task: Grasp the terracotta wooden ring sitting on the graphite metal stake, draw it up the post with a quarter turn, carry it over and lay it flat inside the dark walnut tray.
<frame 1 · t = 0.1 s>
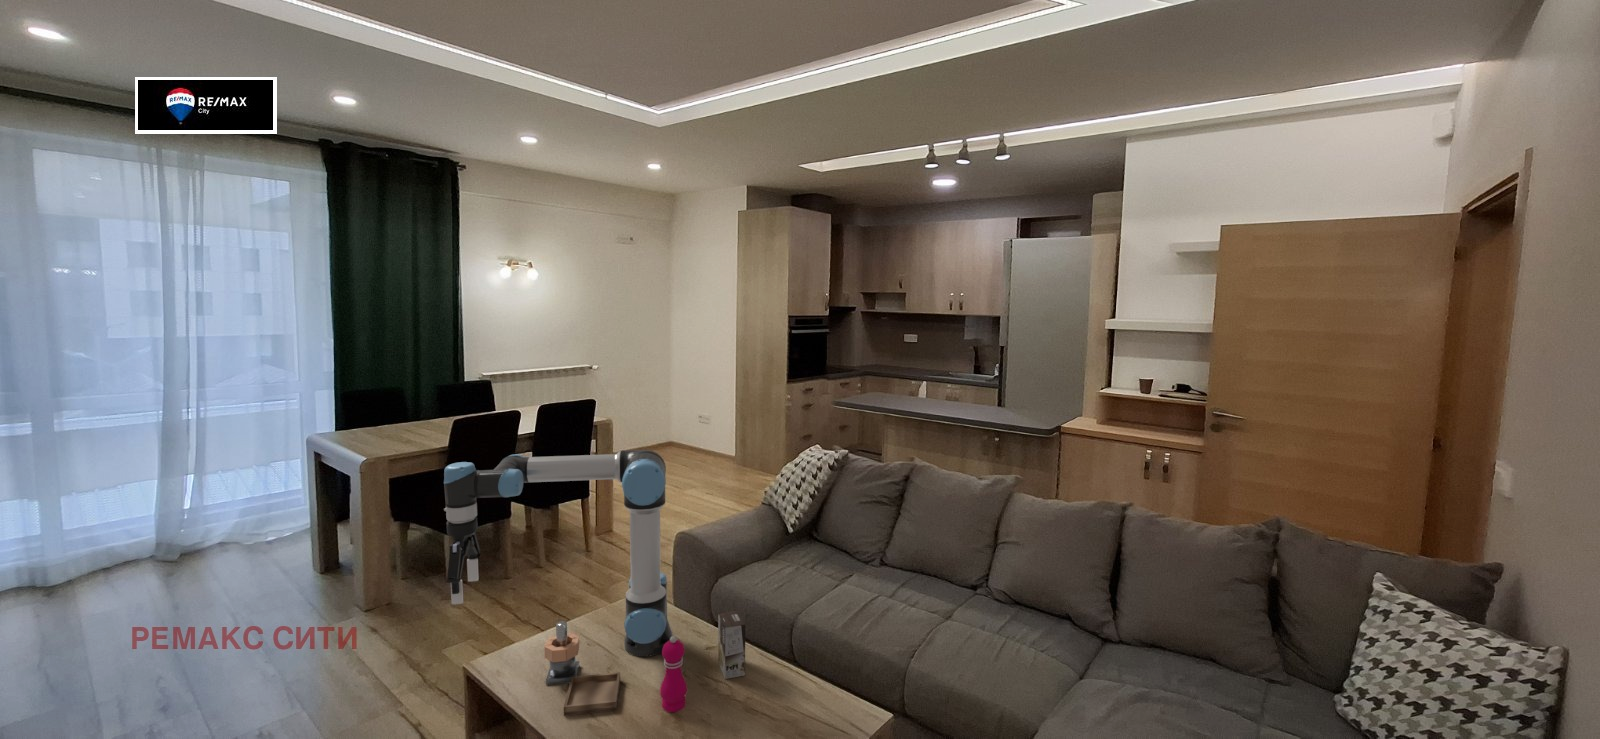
hand: (465, 591, 177), 28 cm above the table, fingers open, 13 cm apart
ring: (562, 652, 185), point 7 cm above the table, touching stake
coffee box: (731, 669, 190), on the table
pepper mill: (673, 705, 173), on the table
stake: (563, 675, 186), on the table
tray: (593, 697, 176), on the table
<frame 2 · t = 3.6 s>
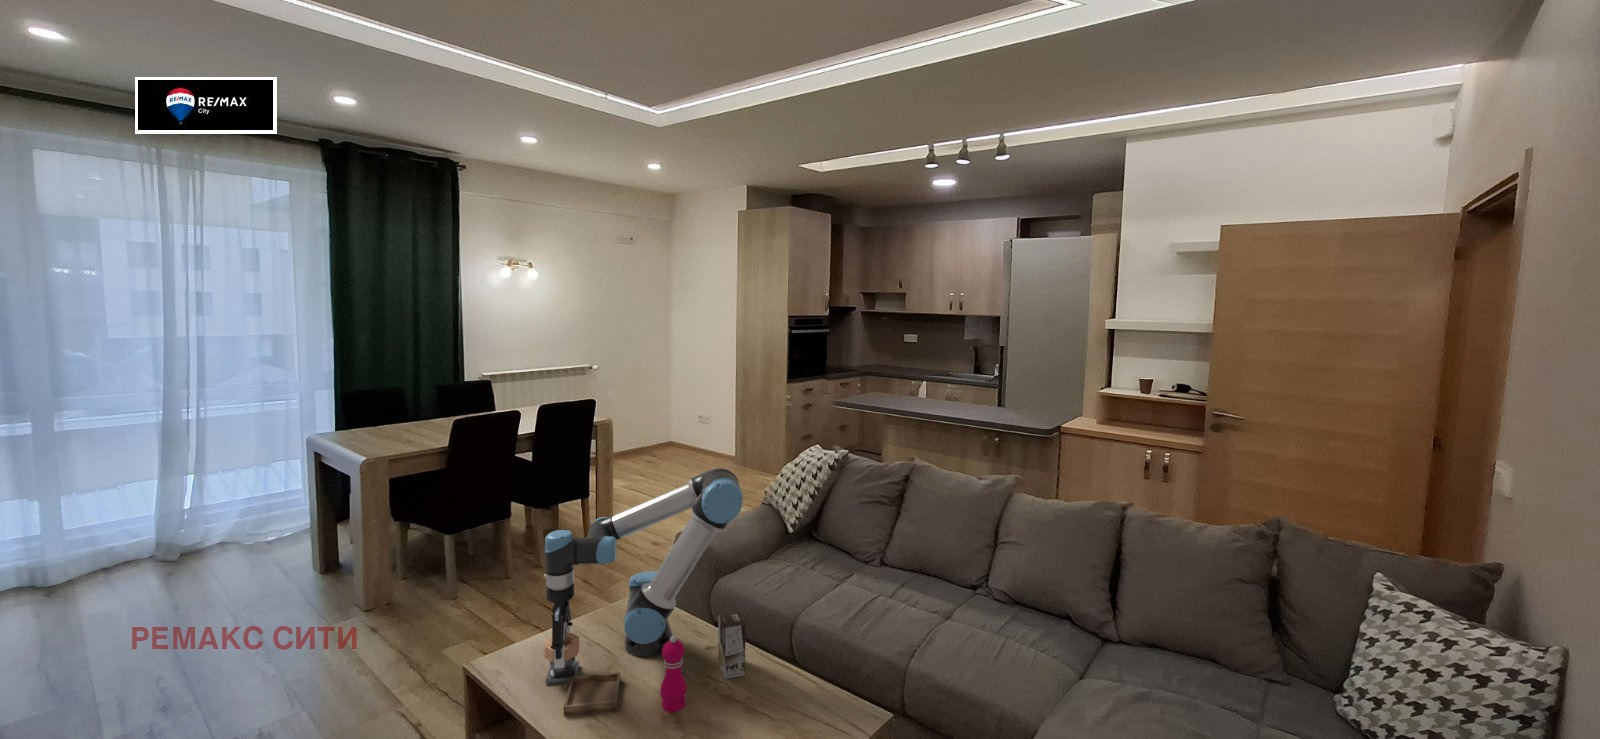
hand: (562, 657, 185), 5 cm above the table, fingers closed on ring, 9 cm apart
ring: (562, 652, 185), point 7 cm above the table, touching gripper, stake
everything else where it was.
when the fingers open (2 cm above the table, at t = 10.4 s): ring drops 3 cm, resting on tray.
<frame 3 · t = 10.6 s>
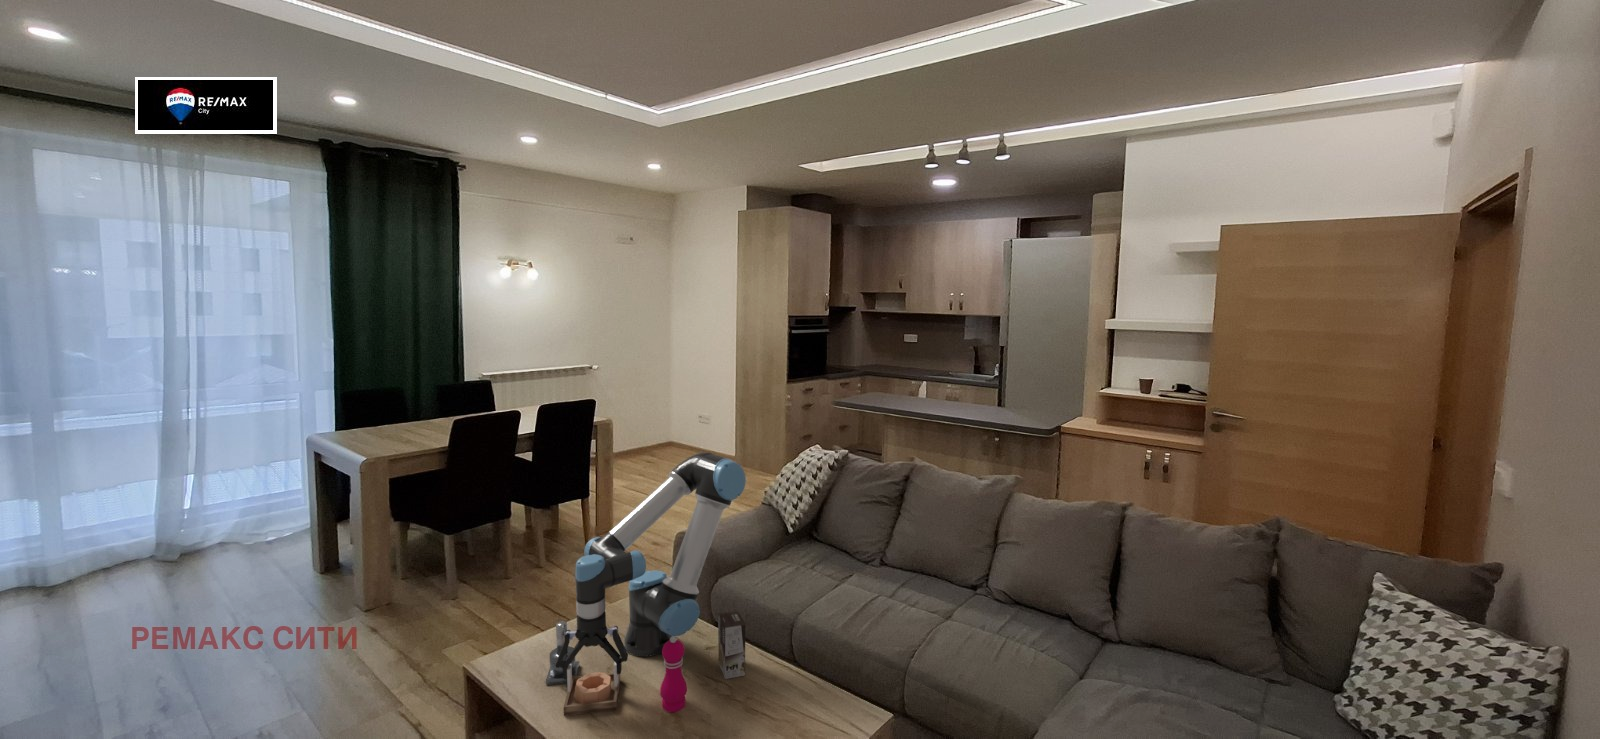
hand: (593, 686, 176), 3 cm above the table, fingers open, 11 cm apart
ring: (593, 693, 176), point 1 cm above the table, touching tray
everything else where it was.
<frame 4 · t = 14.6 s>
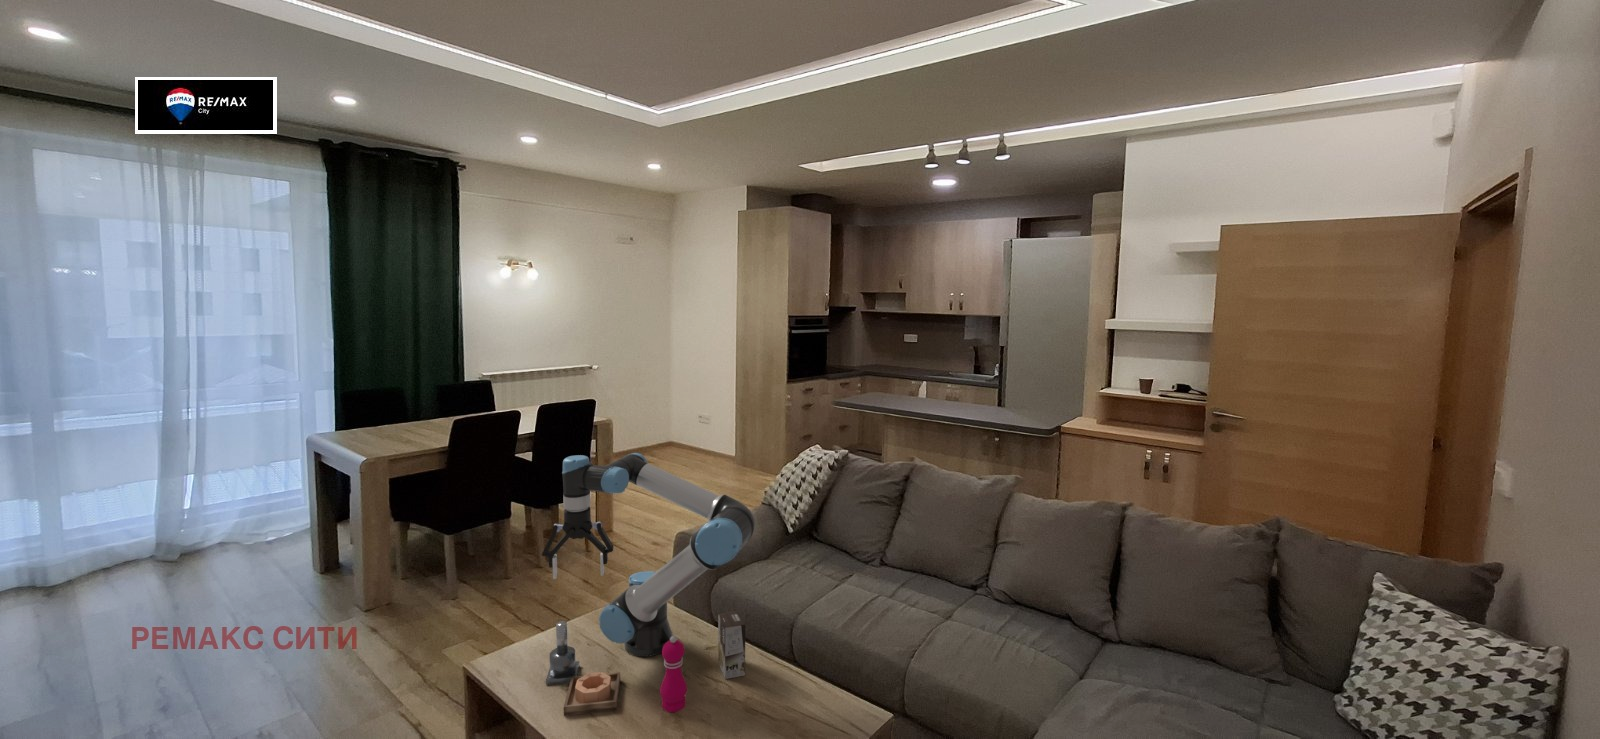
hand: (579, 575, 191), 27 cm above the table, fingers open, 13 cm apart
nothing on the table moved.
at the end: ring inside the target area on the tray (0.0 cm from its centre), point 1.0 cm above the tray's base; ring tilted 0°; the gripper is holding nothing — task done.
